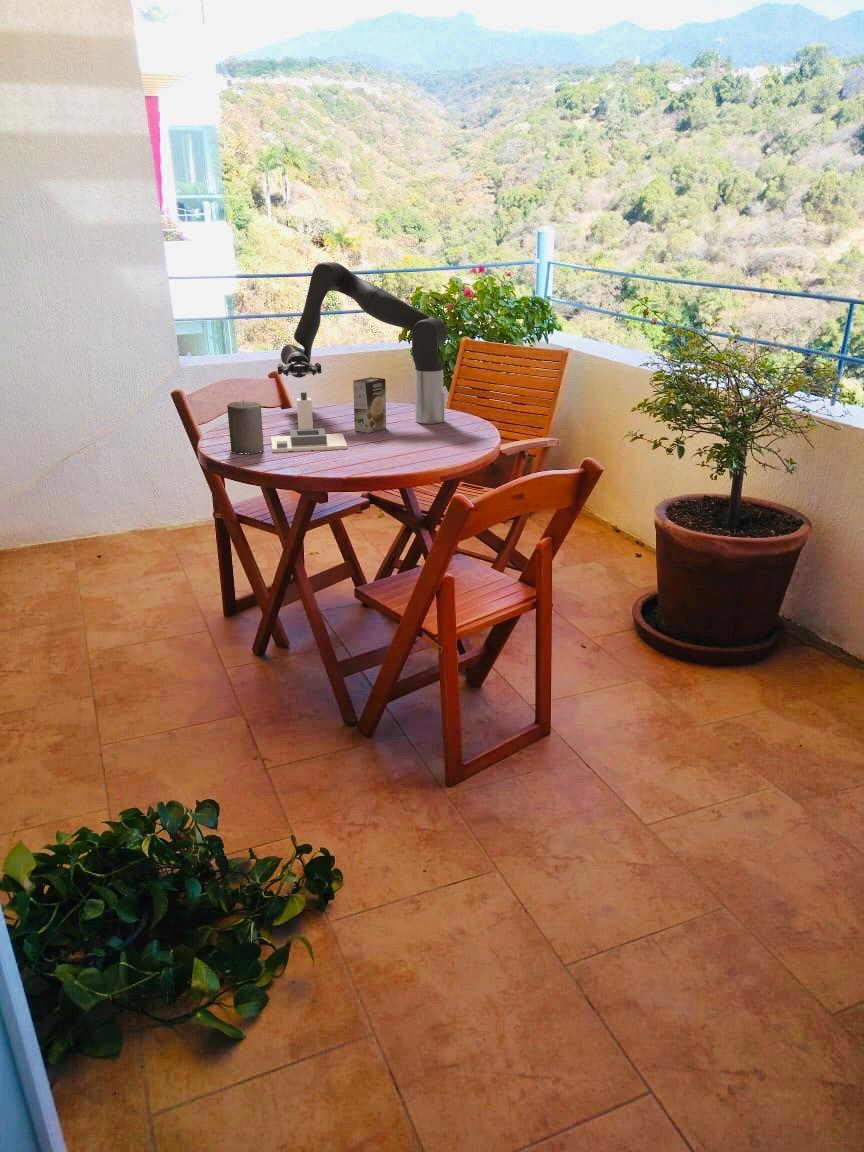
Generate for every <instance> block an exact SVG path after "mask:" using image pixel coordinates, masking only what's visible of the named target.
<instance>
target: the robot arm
mask: <svg viewBox="0 0 864 1152" xmlns="http://www.w3.org/2000/svg"><path fill="white" fill-rule="evenodd" d="M309 281H310V282H309V286H308V290H307V291H308V292H307V294H306V299H305V304H304V306H303V311H302V314H301V315H300V319H299V322H298V324H297V326H296V329H295V331H294V333H293V334H294V335H293V338H294V340H295V342H296V343H298V344H299V345H300V346H302V347H303V348H301V347H299V346H296V345H293V344H290V343H289V344H285V346H284V347H283V348H282V350H281V351H280V361H281V362H282V363H283V364H281V363H278V364H277V367H276V368H277V374H278V375H282V374H283V376H284V375H285V376H287V377H288V376H289V375H290V376H292V377H294V378H297V379H299V378H303V377H306V376H307V375H312V376H315V375H317V374H319V375H320V374H322V365H321V364H320V363H319V362H316V363H314V365H313V364H312V363H311V357H312V348H313V344H314V340H315V339H316V336H317V333H318V331H319V328H320V326H321V325H320V324H321V310H322V305H323V301H324V299H326V298H325V297H326V296H327V294H328V292H339V293H341V294H343V295H345V296H347V297H350V298H351V299H353V300H354V302H356V303H357V305H358V306H359V307H360V308H361V310H362V311H363V312H364V313H366V314H367V315H369V316H371V317H373V318H375V320H378V321H380V322H382V323H385V324H388V325H391V326H395V327H399V328H400V329H401V328H402V329H405V330H407V331H409V332H411V348H412V349H411V351H412V352H411V353H412V361H413V363H414V367H415V368H414V369H415V373H414V375H415V377H414V378H415V379H414V381H415V383H414V384H415V421H416V423H420V424H425V425H429V424H431V425H432V424H440V423H445V400H446V399H445V398H446V397H445V393H444V362H443V360H442V359H440V357H439V356H438V347H440V346H442V345H443V344H445V342H446V341H447V339H448V337H449V332H448V331H449V330H448V327H447V326H446V324H445V323H444V322H443V321H442V320H441V319H439V318H437V317H435V316H432V315H429V314H428V313H425V312H424V311H423V312H422V311H420V310H418V309H416V308H414V307H413V306H411V305H409V304H408V303H406V301H405V302H404V300H403V301H402V300H401V299H399V298H398V297H396V296H394V295H393V294H391V293H389V292H388V291H386V290H384V289H383V288H380V287H379V286H376V285H374V284H372V283H371V282H369V281H366V280H365V279H363V278H360V277H359V276H358V275H356V274H354V272H352V271H350V270H349V269H348V268H347V267H345V266H344V265H343V264H340V263H338V262H333V261H331V262H330V261H325V262H324V261H323V262H320V263H318V264H316V265H315V267H314V268H313V270H312V273H311V277H310V280H309ZM284 365H285V366H284Z"/></svg>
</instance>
